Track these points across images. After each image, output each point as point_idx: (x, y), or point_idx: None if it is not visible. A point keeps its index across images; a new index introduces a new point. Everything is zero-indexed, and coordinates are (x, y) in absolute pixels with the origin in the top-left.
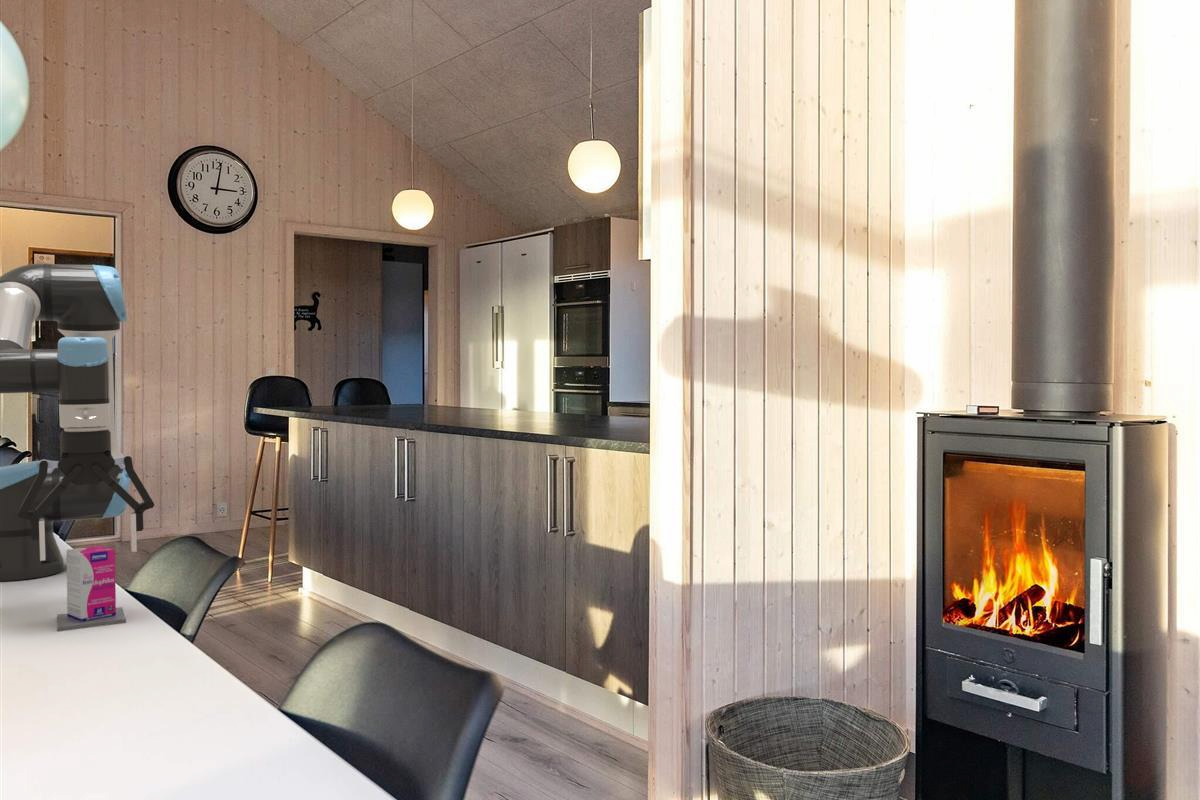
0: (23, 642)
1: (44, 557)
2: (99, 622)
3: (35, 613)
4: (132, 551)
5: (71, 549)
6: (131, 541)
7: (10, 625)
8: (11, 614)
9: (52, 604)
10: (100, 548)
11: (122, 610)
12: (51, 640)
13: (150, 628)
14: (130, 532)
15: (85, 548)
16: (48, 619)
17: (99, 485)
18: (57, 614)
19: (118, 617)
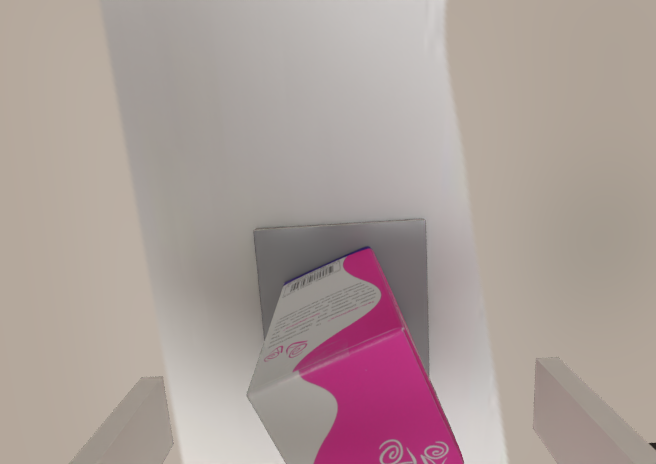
0: (208, 449)
1: (165, 453)
2: None
3: (189, 130)
4: (536, 430)
5: (268, 402)
6: (559, 452)
7: (147, 256)
8: (123, 108)
9: (222, 12)
10: (401, 426)
11: (424, 271)
12: (265, 461)
13: (477, 459)
14: (587, 424)
15: (332, 402)
16: (234, 233)
17: None
18: (255, 231)
19: None
